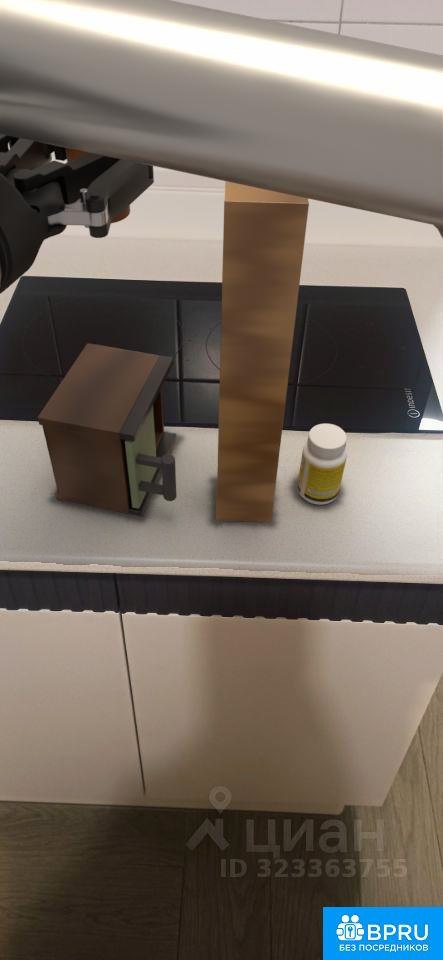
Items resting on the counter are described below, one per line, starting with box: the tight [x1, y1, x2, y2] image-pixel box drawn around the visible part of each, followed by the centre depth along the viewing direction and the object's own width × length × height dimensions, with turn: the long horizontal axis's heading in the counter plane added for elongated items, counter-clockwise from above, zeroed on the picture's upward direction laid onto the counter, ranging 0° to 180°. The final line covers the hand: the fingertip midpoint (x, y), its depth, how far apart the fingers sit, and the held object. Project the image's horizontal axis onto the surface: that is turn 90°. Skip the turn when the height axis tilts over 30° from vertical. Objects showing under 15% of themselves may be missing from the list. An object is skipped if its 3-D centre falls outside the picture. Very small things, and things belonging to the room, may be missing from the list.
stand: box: [215, 181, 310, 523], centre depth 62 cm, size 6×6×35 cm
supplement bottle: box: [296, 423, 348, 506], centre depth 73 cm, size 5×5×8 cm
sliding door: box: [125, 406, 178, 509], centre depth 70 cm, size 5×6×10 cm
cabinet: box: [37, 343, 177, 517], centre depth 73 cm, size 10×13×12 cm
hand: (125, 120), depth 55 cm, fingers closed on amber bottle, 5 cm apart
